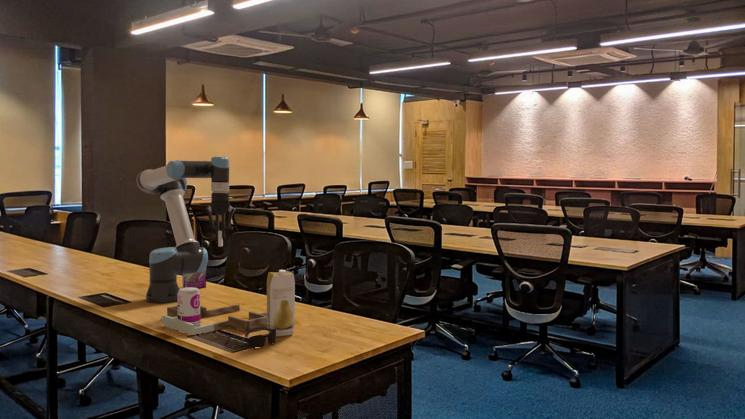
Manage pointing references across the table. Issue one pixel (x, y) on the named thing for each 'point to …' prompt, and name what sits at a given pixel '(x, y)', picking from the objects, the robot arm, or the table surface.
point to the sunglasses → (258, 338)
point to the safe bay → (185, 326)
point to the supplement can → (189, 305)
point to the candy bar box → (194, 279)
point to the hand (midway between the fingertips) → (220, 245)
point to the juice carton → (281, 302)
